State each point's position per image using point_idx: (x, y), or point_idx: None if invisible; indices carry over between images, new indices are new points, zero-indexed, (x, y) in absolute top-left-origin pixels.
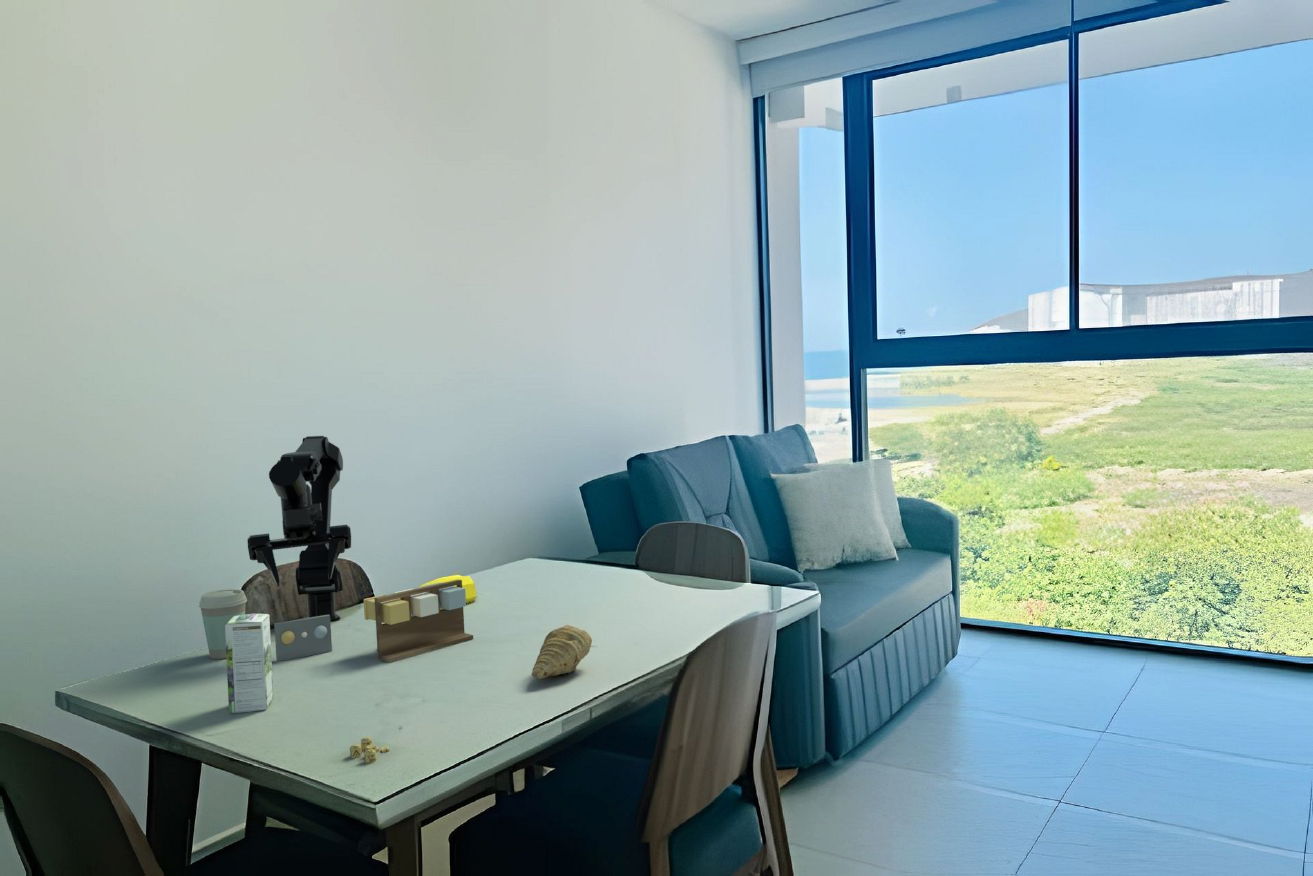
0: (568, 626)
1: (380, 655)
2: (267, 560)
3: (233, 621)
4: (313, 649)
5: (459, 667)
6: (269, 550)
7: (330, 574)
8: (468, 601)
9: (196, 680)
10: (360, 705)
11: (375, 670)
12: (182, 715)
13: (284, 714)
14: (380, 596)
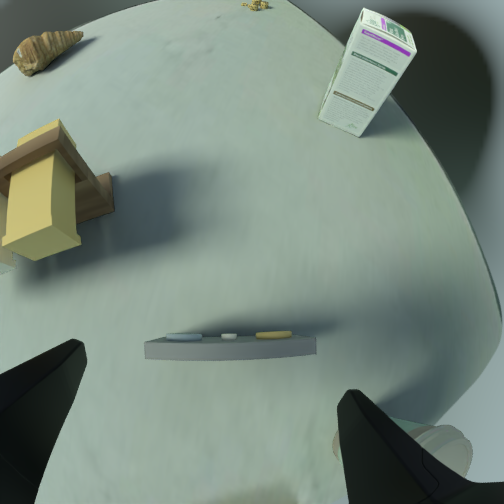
0: (23, 41)
1: (110, 198)
2: (455, 476)
3: (405, 30)
4: (207, 337)
5: (71, 110)
6: (493, 500)
7: (65, 343)
8: None
9: (415, 291)
10: (226, 54)
11: (148, 149)
12: (408, 145)
13: (306, 75)
14: (13, 232)
